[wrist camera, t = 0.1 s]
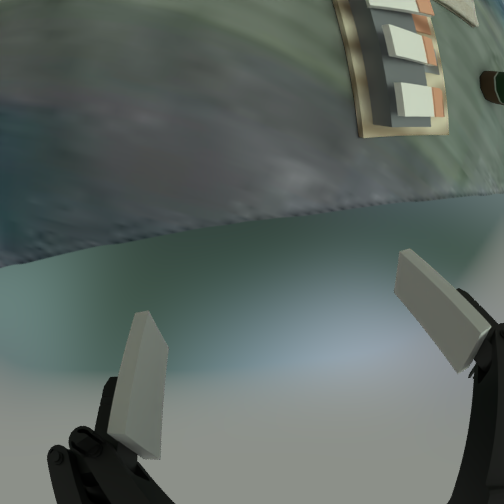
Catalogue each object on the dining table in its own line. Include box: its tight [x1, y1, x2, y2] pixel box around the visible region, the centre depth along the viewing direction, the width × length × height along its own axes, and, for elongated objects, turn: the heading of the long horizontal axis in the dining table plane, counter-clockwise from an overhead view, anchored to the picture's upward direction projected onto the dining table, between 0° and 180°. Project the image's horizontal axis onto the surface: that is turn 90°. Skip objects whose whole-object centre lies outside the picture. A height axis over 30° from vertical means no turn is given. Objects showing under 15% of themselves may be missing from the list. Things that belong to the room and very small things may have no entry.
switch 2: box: [394, 82, 444, 117], centre depth 26 cm, size 4×10×2 cm, turn 101°
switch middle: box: [382, 24, 437, 66], centre depth 23 cm, size 4×10×2 cm, turn 101°
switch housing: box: [348, 0, 431, 127], centre depth 26 cm, size 24×8×5 cm, turn 11°
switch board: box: [332, 0, 449, 138], centre depth 29 cm, size 28×20×2 cm
